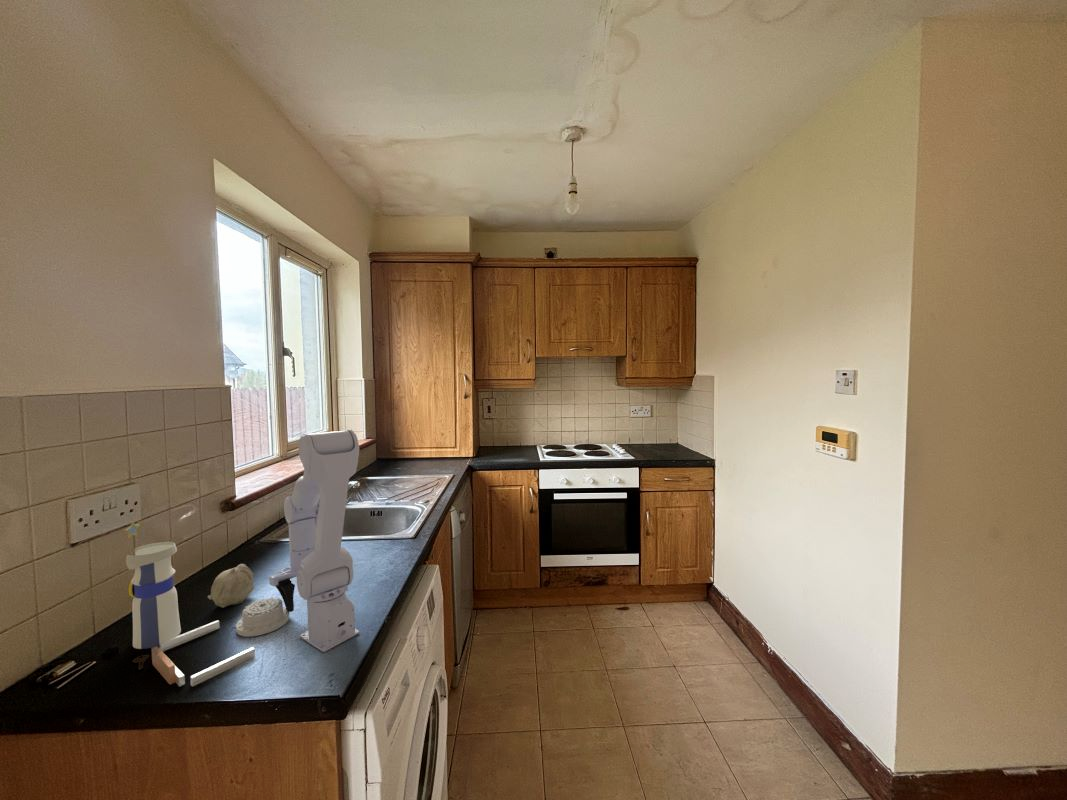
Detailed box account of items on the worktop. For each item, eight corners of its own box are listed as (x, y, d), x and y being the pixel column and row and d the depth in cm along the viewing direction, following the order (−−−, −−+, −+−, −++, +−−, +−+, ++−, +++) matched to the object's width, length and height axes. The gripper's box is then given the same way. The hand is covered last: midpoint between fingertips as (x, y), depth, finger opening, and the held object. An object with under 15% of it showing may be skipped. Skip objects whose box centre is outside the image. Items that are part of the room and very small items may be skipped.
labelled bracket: (254, 656, 84) (254, 640, 84) (177, 694, 74) (176, 676, 74) (218, 627, 94) (217, 612, 94) (146, 656, 84) (145, 640, 84)
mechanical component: (296, 623, 96) (280, 607, 102) (295, 603, 95) (279, 589, 102) (244, 644, 88) (230, 626, 95) (243, 623, 88) (229, 606, 94)
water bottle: (120, 655, 85) (113, 531, 84) (140, 632, 93) (133, 518, 92) (172, 644, 88) (166, 525, 87) (187, 623, 96) (181, 513, 95)
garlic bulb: (247, 603, 109) (258, 561, 112) (252, 610, 103) (264, 566, 106) (202, 603, 104) (215, 560, 106) (204, 611, 97) (218, 565, 100)
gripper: (324, 533, 109) (326, 586, 109) (261, 553, 97) (264, 612, 97) (340, 539, 105) (341, 594, 105) (276, 560, 93) (279, 621, 93)
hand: (305, 603), depth 101 cm, fingers open, 7 cm apart
